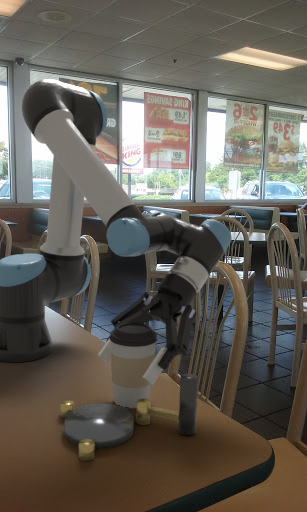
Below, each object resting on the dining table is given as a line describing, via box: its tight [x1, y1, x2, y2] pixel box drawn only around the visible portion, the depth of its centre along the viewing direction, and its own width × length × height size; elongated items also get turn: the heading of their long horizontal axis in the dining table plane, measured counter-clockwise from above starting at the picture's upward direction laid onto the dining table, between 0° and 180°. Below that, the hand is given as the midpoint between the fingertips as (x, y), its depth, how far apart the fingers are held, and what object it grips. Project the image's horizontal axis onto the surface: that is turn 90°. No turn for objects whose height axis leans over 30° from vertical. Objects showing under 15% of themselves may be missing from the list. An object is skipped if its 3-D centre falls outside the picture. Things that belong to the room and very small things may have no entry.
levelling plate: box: [60, 399, 135, 462], centre depth 80 cm, size 16×12×2 cm
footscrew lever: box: [135, 373, 199, 436], centre depth 81 cm, size 11×3×10 cm, turn 70°
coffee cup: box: [109, 321, 158, 409], centre depth 91 cm, size 9×9×15 cm
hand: (123, 369), depth 89 cm, fingers open, 13 cm apart
